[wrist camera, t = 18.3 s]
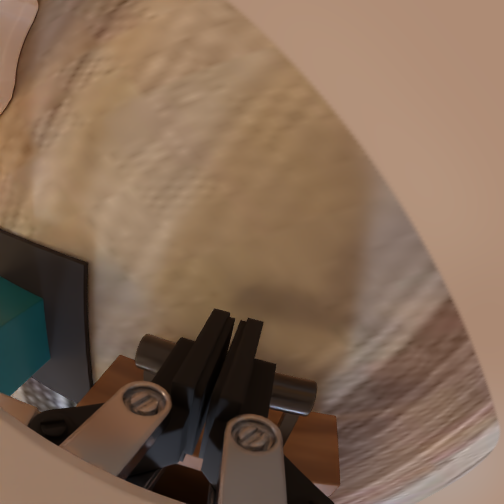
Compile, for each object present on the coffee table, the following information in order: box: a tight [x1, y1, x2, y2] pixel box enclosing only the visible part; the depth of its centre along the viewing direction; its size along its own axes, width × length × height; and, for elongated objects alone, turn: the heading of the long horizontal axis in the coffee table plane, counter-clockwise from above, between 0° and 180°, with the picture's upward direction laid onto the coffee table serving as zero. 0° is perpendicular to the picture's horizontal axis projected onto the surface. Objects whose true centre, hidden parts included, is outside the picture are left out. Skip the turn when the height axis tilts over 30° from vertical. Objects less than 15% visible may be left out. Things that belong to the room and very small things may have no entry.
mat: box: [0, 229, 93, 404], centre depth 18 cm, size 12×12×1 cm
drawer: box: [76, 334, 340, 504], centre depth 15 cm, size 19×12×5 cm, turn 167°
